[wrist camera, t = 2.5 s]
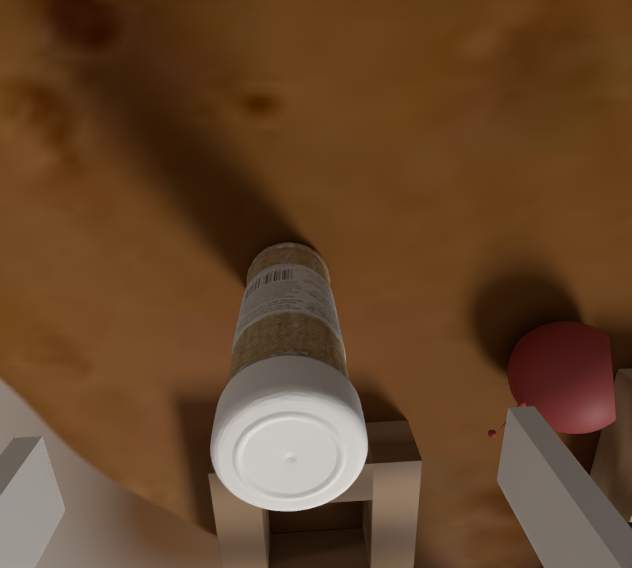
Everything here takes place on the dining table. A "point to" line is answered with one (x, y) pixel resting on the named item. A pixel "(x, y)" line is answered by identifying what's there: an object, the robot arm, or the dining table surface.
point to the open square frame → (617, 450)
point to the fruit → (564, 376)
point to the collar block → (370, 487)
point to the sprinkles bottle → (288, 390)
